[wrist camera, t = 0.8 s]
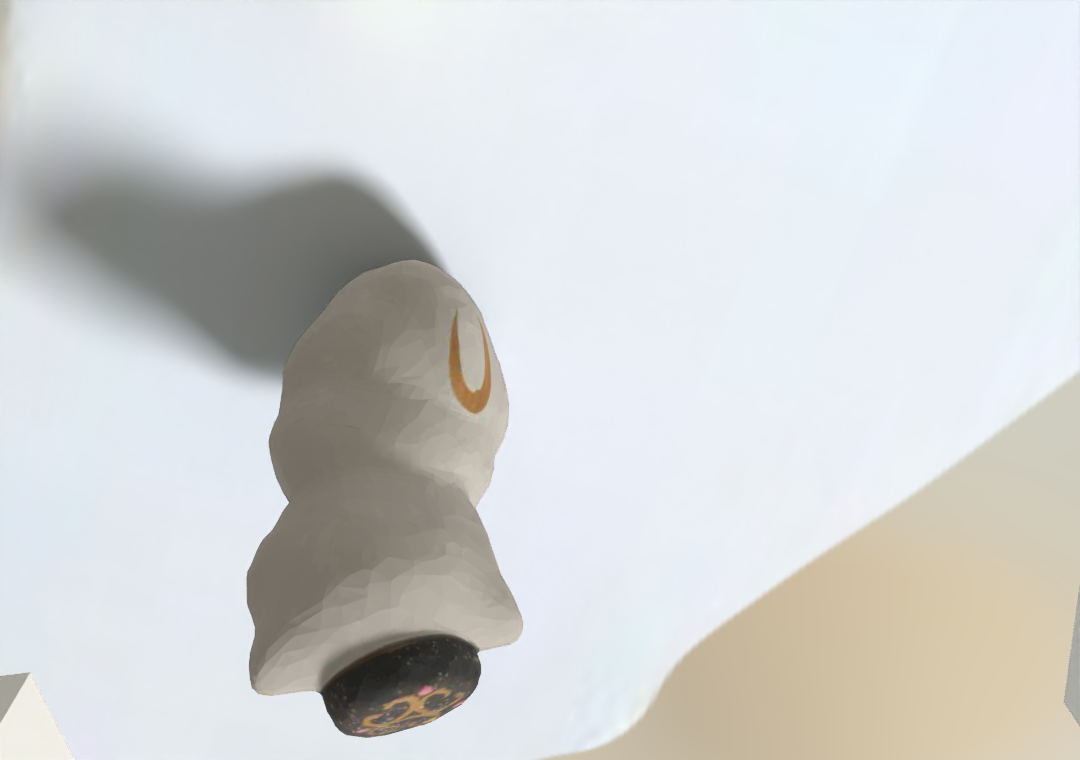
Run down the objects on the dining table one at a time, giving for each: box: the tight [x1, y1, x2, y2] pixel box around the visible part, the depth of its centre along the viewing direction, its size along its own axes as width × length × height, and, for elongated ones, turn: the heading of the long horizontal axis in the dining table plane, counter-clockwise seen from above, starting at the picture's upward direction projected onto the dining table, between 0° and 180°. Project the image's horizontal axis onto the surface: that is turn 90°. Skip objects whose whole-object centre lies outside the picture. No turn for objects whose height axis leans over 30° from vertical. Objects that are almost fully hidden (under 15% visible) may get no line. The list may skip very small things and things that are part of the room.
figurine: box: [247, 260, 523, 738], centre depth 31 cm, size 9×10×15 cm
